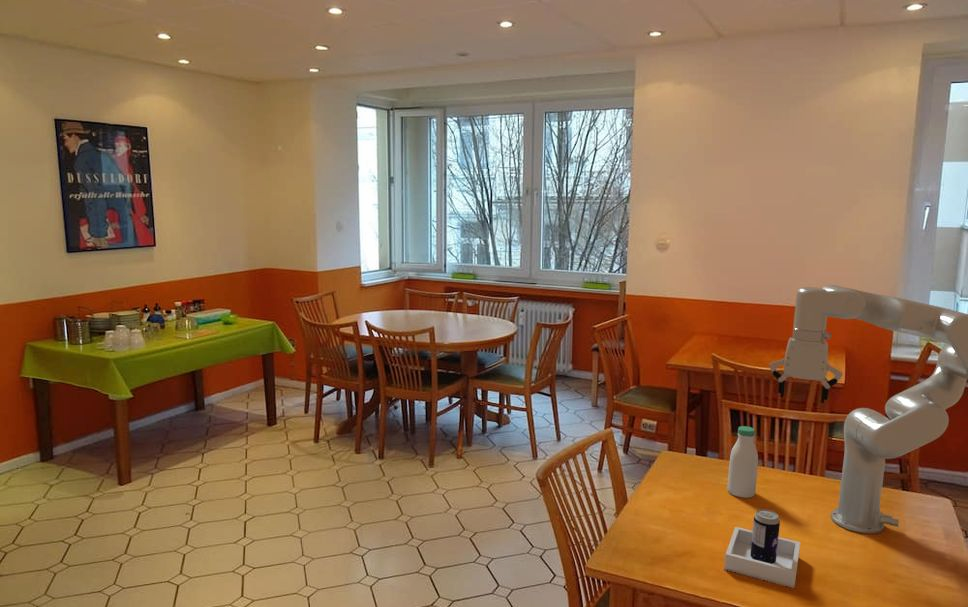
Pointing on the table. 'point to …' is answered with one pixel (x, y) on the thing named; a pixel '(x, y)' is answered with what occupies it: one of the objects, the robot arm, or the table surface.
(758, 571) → the box
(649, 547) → the table surface
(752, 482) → the milk bottle
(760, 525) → the beverage can
